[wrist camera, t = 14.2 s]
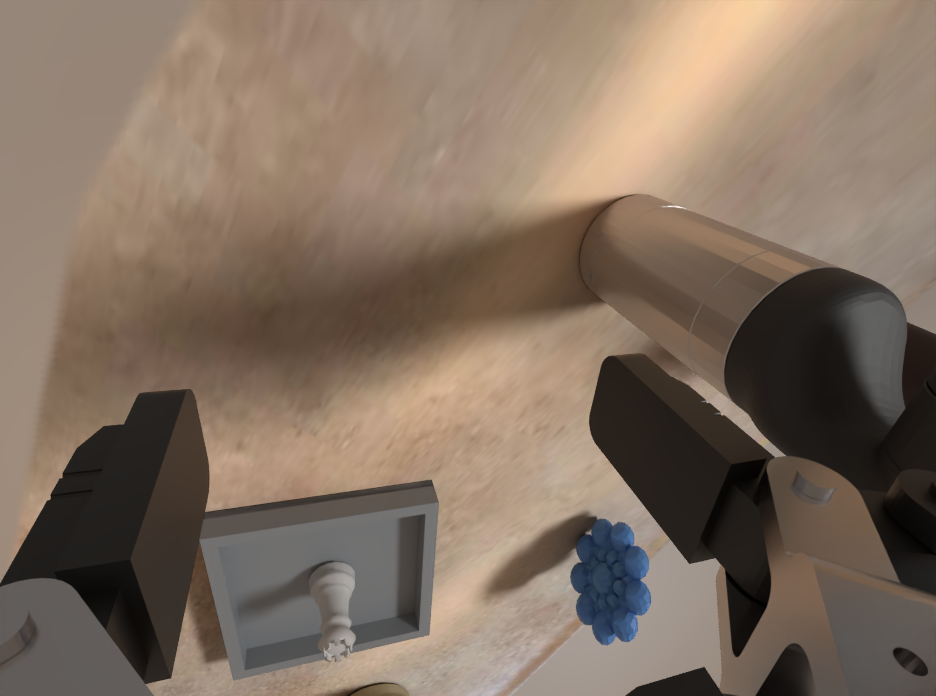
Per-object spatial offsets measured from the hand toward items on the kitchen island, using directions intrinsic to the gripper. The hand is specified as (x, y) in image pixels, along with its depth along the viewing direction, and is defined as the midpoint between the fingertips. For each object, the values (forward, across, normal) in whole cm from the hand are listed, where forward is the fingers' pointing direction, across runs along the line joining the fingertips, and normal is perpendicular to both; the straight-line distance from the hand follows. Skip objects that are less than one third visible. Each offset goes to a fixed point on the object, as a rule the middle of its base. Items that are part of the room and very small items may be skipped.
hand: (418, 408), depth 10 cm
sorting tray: (+28, +2, +39) cm, 48 cm away
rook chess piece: (+28, +2, +39) cm, 48 cm away
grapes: (+28, -28, +42) cm, 58 cm away
